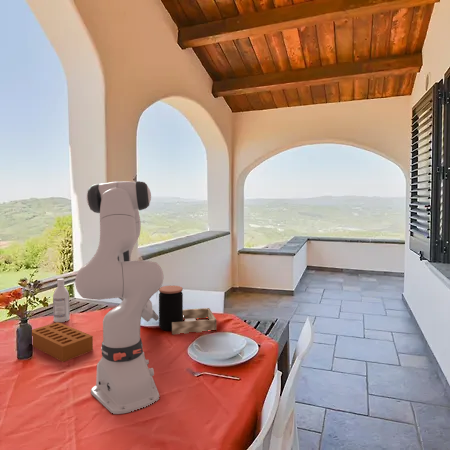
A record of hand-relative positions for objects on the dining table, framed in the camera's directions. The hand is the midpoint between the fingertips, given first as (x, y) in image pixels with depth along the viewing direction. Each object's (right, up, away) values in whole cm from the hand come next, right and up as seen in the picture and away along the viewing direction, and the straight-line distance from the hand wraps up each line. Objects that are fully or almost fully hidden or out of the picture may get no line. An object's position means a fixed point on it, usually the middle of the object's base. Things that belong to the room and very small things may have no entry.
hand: (157, 318), depth 154 cm
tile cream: (+14, -4, +7) cm, 16 cm away
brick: (-34, -6, -20) cm, 40 cm away
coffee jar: (+6, -5, +2) cm, 8 cm away
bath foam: (-48, -3, +9) cm, 49 cm away
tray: (+15, -4, +4) cm, 16 cm away
